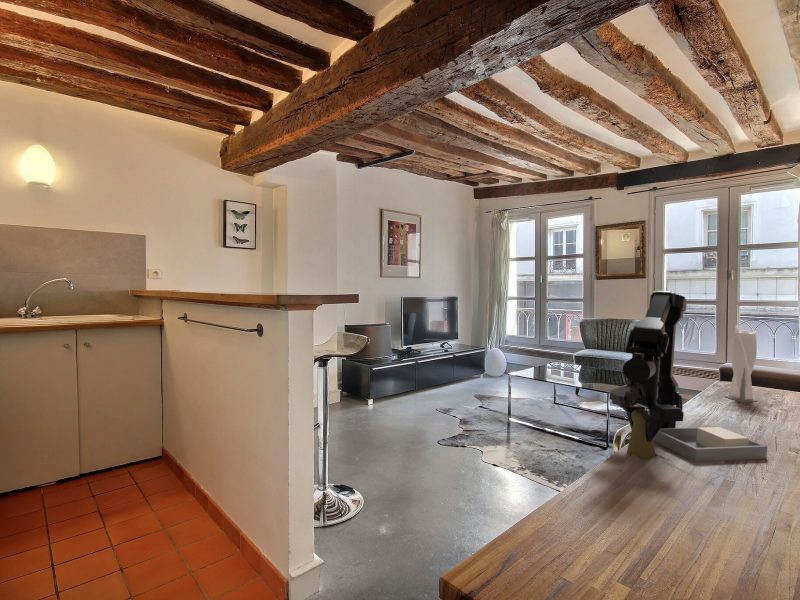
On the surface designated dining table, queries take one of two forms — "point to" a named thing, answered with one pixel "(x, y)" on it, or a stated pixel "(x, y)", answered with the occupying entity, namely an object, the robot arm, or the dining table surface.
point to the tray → (687, 447)
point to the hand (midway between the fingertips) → (641, 437)
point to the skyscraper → (743, 365)
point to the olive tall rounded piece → (640, 437)
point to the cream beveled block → (719, 437)
